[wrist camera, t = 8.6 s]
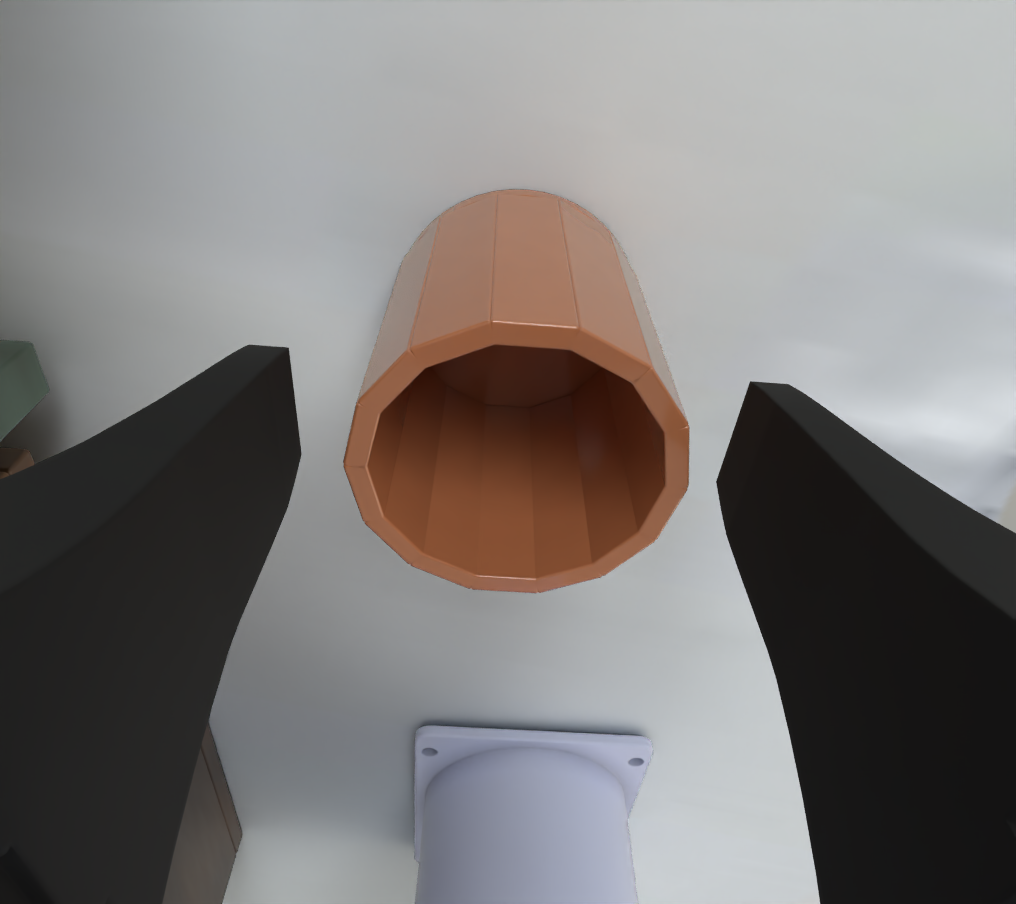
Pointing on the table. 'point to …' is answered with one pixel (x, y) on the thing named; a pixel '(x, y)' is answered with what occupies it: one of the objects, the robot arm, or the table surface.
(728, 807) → the table surface
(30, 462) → the drawer
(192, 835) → the cabinet
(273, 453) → the robot arm
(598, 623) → the table surface
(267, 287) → the table surface
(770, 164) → the table surface
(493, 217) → the orange brown faceted cup
